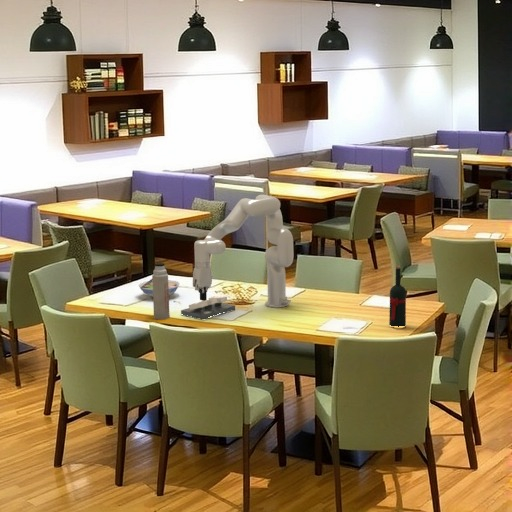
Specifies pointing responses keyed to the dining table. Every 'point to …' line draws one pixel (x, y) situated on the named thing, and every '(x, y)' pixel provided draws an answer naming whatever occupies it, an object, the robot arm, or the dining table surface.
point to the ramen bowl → (148, 287)
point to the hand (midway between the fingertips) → (203, 300)
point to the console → (208, 310)
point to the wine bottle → (397, 303)
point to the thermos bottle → (160, 292)
